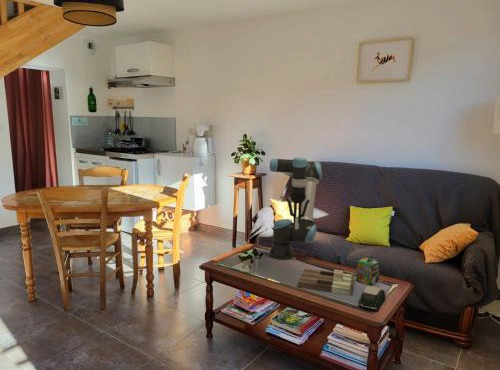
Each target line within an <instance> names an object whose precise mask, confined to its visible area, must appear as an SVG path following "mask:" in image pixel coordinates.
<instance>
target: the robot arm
mask: <svg viewBox="0 0 500 370" xmlns="http://www.w3.org/2000/svg"><path fill="white" fill-rule="evenodd" d="M307 159H308V158H306V157H293V159H286V158H285V159H284V158H271V159H270V161H269V171H270V172H271V173H272V172H274V173H282V174H284V175H285V176H287V177H291V193H290V196H289V197H286V202H287V204H288V211H289V215H290V216H291V217H293V220H292V219H289V218H282V219H277V220H276V221H274V222H273V227H272V230H273V231H272V232H273V233H272V236H273V237H272V245H271V247H270V250H269V256H270V257H271V258H273V259H275V260H290V259H292V258H294V250H293V246H292V242H297V243H305V244H307V243H309V244H311V243H313V242H314V240H315V238H316V234H317V229H318V227H317V225H318V224H316V221H314V210H315V200H316V189H317V185H319V183H320V181H322V179H323V177H322V176H323V175H322V174H323V173H322V171H323V170H322V164H321V162H320V161H312V160H311V161H309V160H307ZM291 201H292V202H293V204H292V202H291ZM292 205H293V206H292ZM297 209H298V213H297ZM297 214H298V215H297Z"/></svg>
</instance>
